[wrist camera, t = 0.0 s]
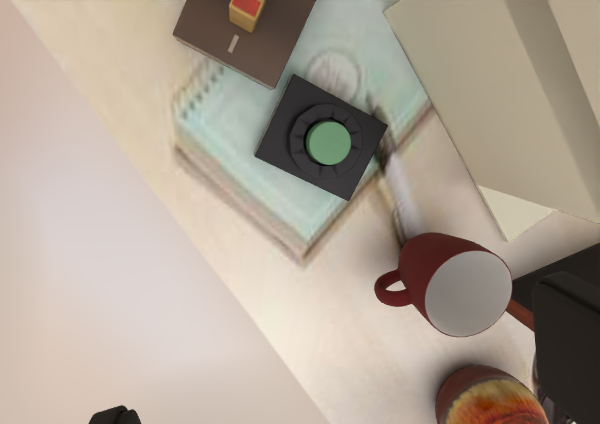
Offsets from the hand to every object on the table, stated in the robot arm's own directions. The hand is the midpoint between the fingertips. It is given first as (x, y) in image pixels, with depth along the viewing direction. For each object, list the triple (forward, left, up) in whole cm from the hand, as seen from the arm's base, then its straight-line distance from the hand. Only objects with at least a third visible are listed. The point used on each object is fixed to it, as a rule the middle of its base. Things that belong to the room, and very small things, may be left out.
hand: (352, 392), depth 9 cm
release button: (-5, +3, -28) cm, 29 cm away
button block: (-5, +4, -31) cm, 32 cm away
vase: (+14, +34, -31) cm, 48 cm away
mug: (+2, +18, -31) cm, 36 cm away
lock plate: (-13, -7, -31) cm, 35 cm away
